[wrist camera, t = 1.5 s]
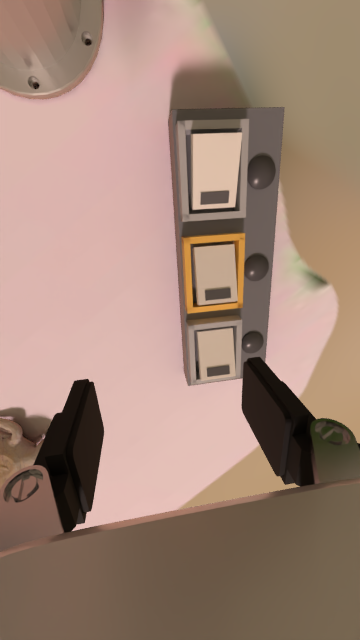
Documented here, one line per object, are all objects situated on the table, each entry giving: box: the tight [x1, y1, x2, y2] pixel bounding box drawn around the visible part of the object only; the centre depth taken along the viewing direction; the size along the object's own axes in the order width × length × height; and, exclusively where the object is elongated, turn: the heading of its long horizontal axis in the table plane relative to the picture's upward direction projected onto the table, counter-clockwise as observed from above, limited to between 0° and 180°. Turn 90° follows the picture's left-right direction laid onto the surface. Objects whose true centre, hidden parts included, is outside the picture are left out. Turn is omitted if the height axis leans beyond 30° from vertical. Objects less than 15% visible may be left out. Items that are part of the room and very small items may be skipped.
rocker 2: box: [196, 327, 236, 381], centre depth 29 cm, size 6×4×1 cm
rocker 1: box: [191, 133, 242, 210], centre depth 22 cm, size 6×4×1 cm
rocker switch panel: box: [168, 107, 284, 386], centre depth 28 cm, size 28×10×4 cm, turn 3°
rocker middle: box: [192, 244, 238, 305], centre depth 26 cm, size 6×4×1 cm
